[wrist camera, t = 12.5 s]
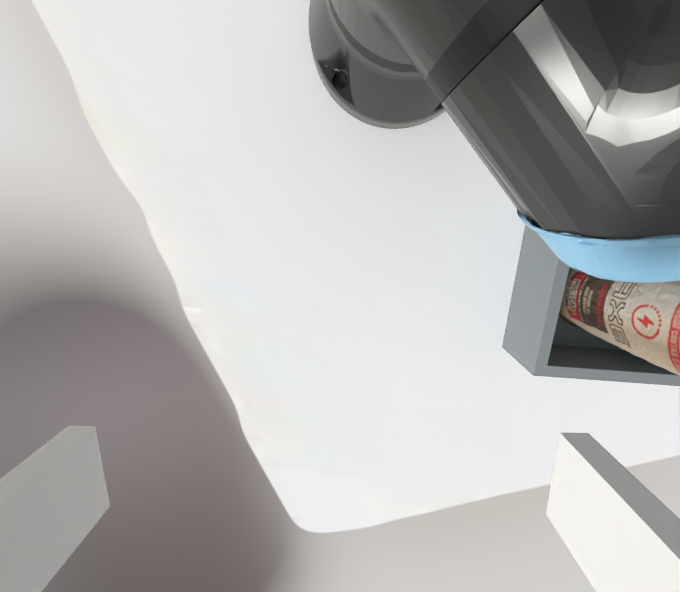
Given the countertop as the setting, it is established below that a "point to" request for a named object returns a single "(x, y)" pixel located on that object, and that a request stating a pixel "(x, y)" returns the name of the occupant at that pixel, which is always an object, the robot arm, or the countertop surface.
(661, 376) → the bin
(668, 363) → the white paper tall sack
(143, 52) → the countertop surface
